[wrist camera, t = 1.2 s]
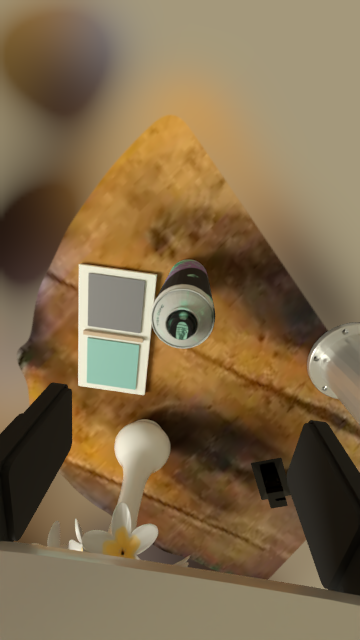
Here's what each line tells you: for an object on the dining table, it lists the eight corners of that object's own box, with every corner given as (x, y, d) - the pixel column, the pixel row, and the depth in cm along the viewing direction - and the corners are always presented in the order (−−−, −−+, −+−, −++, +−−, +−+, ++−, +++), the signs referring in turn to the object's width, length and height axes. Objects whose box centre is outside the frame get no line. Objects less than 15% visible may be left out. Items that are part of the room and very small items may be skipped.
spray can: (198, 252, 38) (201, 283, 19) (213, 288, 40) (228, 348, 21) (163, 268, 39) (131, 311, 20) (178, 302, 41) (163, 372, 22)
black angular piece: (295, 497, 53) (304, 521, 49) (257, 503, 54) (262, 527, 50) (283, 447, 49) (291, 469, 45) (242, 455, 50) (247, 477, 46)
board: (157, 274, 39) (155, 276, 38) (145, 392, 46) (143, 397, 45) (81, 263, 40) (76, 265, 38) (80, 383, 46) (76, 388, 45)
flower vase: (81, 421, 49) (-25, 605, 25) (177, 390, 46) (156, 569, 22) (114, 474, 53) (48, 676, 29) (205, 449, 50) (212, 654, 26)
